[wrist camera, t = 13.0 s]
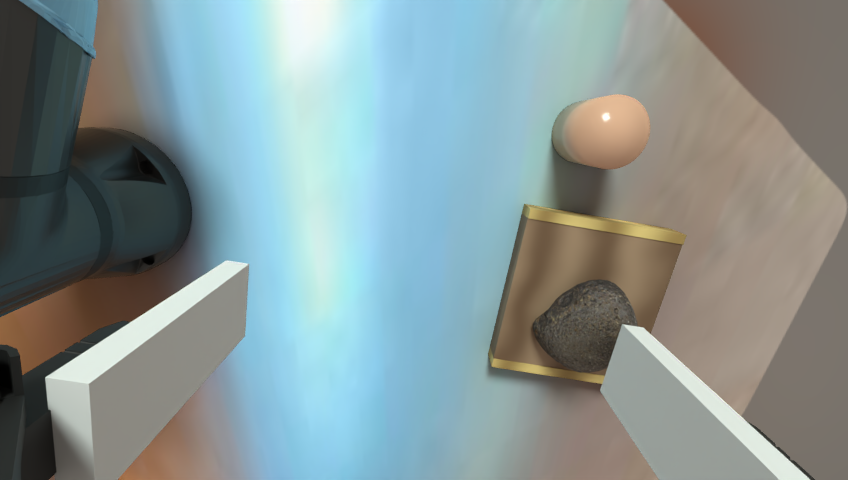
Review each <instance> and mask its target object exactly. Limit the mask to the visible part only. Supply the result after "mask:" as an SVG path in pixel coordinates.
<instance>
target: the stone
mask: <svg viewBox="0 0 848 480" xmlns="http://www.w3.org/2000/svg"><path fill="white" fill-rule="evenodd" d="M622 324H624V325H630V326H637V327H638V324H637V320H636V317H635V313H634V310H633V308H632V305H631V303H630V301H629V300H628V298H627V296H626V294H625V293H624V292H623V291H622V290H621V289H620V288H619V287H618V286H617V285H616V284H615V283H613V282H611V281H608V280H601V279H598V280H589V281H586V282H583V283H580V284H577V285H576V286H574V287H572V288H571V289H569V290H567V291H566V292H564V293H563V294H561V295H560V296H559V297H558V298H557V299H556V300H555V301H554V303H553V304H552V305H551V307H550V308H549V309H548V310H547V311H545V312H544V313H543V314H541V315H540V316H539V317H538V318H536V320H535V321H534V323H533V332H534V335H535V338H536V340H537V341H538V343H539V344H540V346H541V347H542V348H543V350H544V351H545V352H546V353H547V354H548V355H549V356H551V357H552V358H553V359H554V360H555V361H556V362H559V363H561V364H562V365H563V366H564V367H566V368H568V369H571V370H573V371H576V372H580V373H582V372H586V373H590V372H596V371H600V370H603V369H606V368H608V365H609V362H610V359H611V356H612V353H613V350H614V347H615V344H616V341H617V338H618V335H619V332H620V329H621V326H622Z"/></svg>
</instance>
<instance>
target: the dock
mask: <svg viewBox="0 0 848 480" xmlns="http://www.w3.org/2000/svg"><path fill="white" fill-rule="evenodd" d="M685 238H686V235H685V234H682V233H680V232H677V231H675V230H672V229H668V228H662V227H657V226H651V225H645V224H639V223H633V222H627V221H621V220H616V219H610V218H604V217H598V216H592V215H586V214H581V213H575V212H569V211H563V210H557V209H551V208H546V207H540V206H534V205H528V204H524V207H523V211H522V215H521V220H520V224H519V228H518V232H517V236H516V240H515V245H514V249H513V253H512V257H511V261H510V265H509V270H508V274H507V278H506V282H505V286H504V290H503V294H502V299H501V303H500V307H499V311H498V315H497V319H496V324H495V328H494V332H493V336H492V340H491V344H490V349H489V353H488V355H489V359H490V362H491V366H492V367H496V368H503V369H509V370H516V371H522V372H528V373H535V374H541V375H548V376H554V377H561V378H567V379H574V380H580V381H586V382H593V383H599V384H602V383H603V380H604V377H605V374H606V371H607V368H606V369H603V370H600V371H596V372H590V373H586V372H582V373H580V372H576V371H573V370H571V369H568V368H566V367H564V366H563V365H562V364H561V363H559V362H556V361H555V360H554V359H553V358H552V357H551V356H549V355H548V354H547V353H546V352H545V351H544V350H543V348H542V347H541V346H540V344H539V343H538V341H537V340H536V338H535V335H534V332H533V323H534V321H535V320H536V318H538V317H539V316H540V315H541V314H543V313H544V312H545V311H547V310H548V309H549V308H550V307H551V305H552V304H553V303H554V301H555V300H556V299H557V298H558V297H559V296H560V295H561V294H563V293H564V292H566V291H567V290H569V289H571V288H572V287H574V286H576V285H577V284H580V283H583V282H586V281H589V280H598V279H601V280H608V281H611V282H613V283H615V284H616V285H617V286H618V287H619V288H620V289H621V290H622V291H623V292H624V293H625V294H626V296H627V298H628V300H629V301H630V303H631V305H632V308H633V310H634V313H635V317H636V320H637V324H638V327H643V328H644V329H645V330H646V331H648V332H649V333H650V334H651V331H652V328H653V326H654V323H655V320H656V317H657V314H658V312H659V309H660V306H661V303H662V300H663V298H664V295H665V292H666V289H667V286H668V284H669V281H670V278H671V275H672V272H673V270H674V267H675V264H676V261H677V258H678V256H679V253H680V250H681V247H682V245H683V244H684V241H685Z"/></svg>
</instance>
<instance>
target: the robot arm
mask: <svg viewBox="0 0 848 480" xmlns="http://www.w3.org/2000/svg"><path fill="white" fill-rule="evenodd" d="M97 11H98V1H97V0H0V317H1V316H4V315H6V314H8V313H10V312H12V311H15V310H17V309H19V308H21V307H23V306H26V305H28V304H30V303H32V302H34V301H37V300H39V299H41V298H43V297H45V296H48V295H50V294H52V293H54V292H56V291H59V290H61V289H63V288H65V287H67V286H70V285H72V284H74V283H76V282H78V281H81V280H83V279H93V278H107V277H122V276H130V275H135V274H139V273H142V272H145V271H147V270H149V269H152V268H154V267H156V266H158V265H160V264H162V263H163V262H165V261H167V260H168V259H170V258H171V257H172V256H173V255H174V254H175V253H176V252H177V251H178V250H179V249H180V247H181V246H182V244H183V243H184V241H185V239H186V237H187V234H188V231H189V228H190V222H191V204H190V198H189V194H188V191H187V188H186V185H185V183H184V181H183V179H182V177H181V175H180V173H179V171H178V170H177V168H176V167H175V166H174V164H173V163H172V162H171V161H170V159H169V158H168V157H167V156H166V155H165V154H164V153H163V152H162V151H161V150H160V149H158V148H157V147H156V146H155V145H153V144H152V143H150V142H149V141H147V140H145V139H144V138H142V137H140V136H138V135H136V134H133V133H130V132H128V131H124V130H120V129H115V128H96V127H88V128H78V125H79V121H80V116H81V111H82V106H83V101H84V96H85V91H86V86H87V81H88V76H89V71H90V66H91V61H92V58H93V59H95V57H96V52H95V49H94V48H93V42H94V34H95V26H96V18H97ZM248 273H249V264H246V263H239V262H233V261H227V260H226V261H225V262H223V263H222V264H220V265H218V266H217V267H215V268H214V269H212V270H211V271H209V272H208V273H206V274H205V275H203V276H201V277H200V278H198V279H197V280H195V281H194V282H192V283H191V284H189V285H188V286H186V287H184V288H183V289H181V290H180V291H178V292H177V293H175V294H174V295H172V296H170V297H169V298H167V299H166V300H164V301H163V302H161V303H160V304H158V305H157V306H155V307H153V308H152V309H150V310H149V311H147V312H146V313H144V314H143V315H141V316H140V317H138V318H136V319H135V320H133V321H132V322H128V321H121V322H118V323H115V324H112V325H109V326H106V327H104V328H101V329H98V330H97V331H95V332H93V333H92V334H90V335H88V336H87V337H85V338H84V339H82V340H81V341H80V343H75V344H74V345H72V346H70V347H69V348H67V349H65V352H60V353H59V354H57V355H55V356H54V357H52V358H50V359H49V360H47V361H45V362H44V363H42V364H41V365H39V366H37V367H36V368H34V369H32V370H31V371H29V372H27V373H26V374H24V375H22V371H21V362H20V355H19V353H18V350H17V349H15V348H13V347H10V346H8V345H0V480H49V479H50V478H51V477H52V476H53V475H55V480H118V478H119V477H120V476H121V475H122V474H123V473H124V472H125V471H126V469H127V468H128V467H129V466H130V465H131V464H132V463H133V462H134V460H135V459H136V458H137V457H138V456H139V455H140V454H141V453H142V451H143V450H144V449H145V448H146V447H147V446H148V445H149V444H150V442H151V441H152V440H153V439H154V438H155V437H156V436H157V435H158V433H159V432H160V431H161V430H162V429H163V428H164V427H165V425H166V424H167V423H168V422H169V421H170V420H171V419H172V418H173V416H174V415H175V414H176V413H177V412H178V411H179V410H180V409H181V407H182V406H183V405H184V404H185V403H186V402H187V401H188V400H189V398H190V397H191V396H192V395H193V394H194V393H195V392H196V391H197V389H198V388H199V387H200V386H201V385H202V384H203V383H204V382H205V380H206V379H207V378H208V377H209V376H210V375H211V374H212V373H213V371H214V370H215V369H216V368H217V367H218V366H219V365H220V364H221V362H222V361H223V360H224V359H225V358H226V357H227V356H228V355H229V353H230V352H231V351H232V350H233V349H234V348H235V347H236V346H237V344H238V343H239V342H240V341H241V340H242V339H243V338H244V336H245V327H246V309H247V291H248ZM600 391H601V393H602V394H603V396H604V397H605V399H606V401H607V402H608V404H609V405H610V407H611V408H612V410H613V411H614V413H615V414H616V416H617V417H618V419H619V420H620V422H621V423H622V425H623V426H624V428H625V429H626V431H627V432H628V434H629V435H630V437H631V438H632V440H633V441H634V443H635V444H636V446H637V447H638V449H639V450H640V452H641V453H642V455H643V456H644V458H645V459H646V461H647V462H648V464H649V465H650V467H651V468H652V470H653V471H654V473H655V474H656V476H657V477H658V479H659V480H815V479H814V478H813V477H811V476H810V475H809V474H808V473H807V472H806V471H805V470H804V469H803V468H802V467H800V466H799V465H798V464H797V463H796V462H795V461H792V460H790V457H789V456H788V455H787V454H786V453H785V452H784V451H783V450H781V449H780V448H779V447H776V446H775V443H774V442H773V441H772V440H770V439H769V438H768V437H767V436H766V435H765V434H764V433H763V432H761V431H760V430H759V429H758V428H757V427H755V426H754V425H752V424H750V423H749V422H748V421H746V420H745V419H743V418H742V417H741V416H740V415H739V414H738V413H737V412H735V411H734V410H733V409H732V408H731V407H730V406H729V405H728V404H727V403H726V402H724V401H723V400H722V399H721V398H720V397H719V396H718V395H717V394H716V393H715V392H713V391H712V390H711V389H710V388H709V387H708V386H707V385H706V384H705V383H704V382H702V381H701V380H700V379H699V378H698V377H697V376H696V375H695V374H694V373H693V372H691V371H690V370H689V369H688V368H687V367H686V366H685V365H684V364H683V363H682V362H680V361H679V360H678V359H677V358H676V357H675V356H674V355H673V354H672V353H671V352H669V351H668V350H667V349H666V348H665V347H664V346H663V345H662V344H661V343H660V342H658V341H657V340H656V339H655V338H654V337H653V336H652V335H651V334H650V333H649V332H648V331H646V330H645V329H644V328H643V327H637V326H630V325H624V324H622V326H621V329H620V332H619V335H618V338H617V341H616V344H615V347H614V350H613V353H612V356H611V359H610V362H609V365H608V368H607V371H606V374H605V377H604V380H603V383H602V386H601V389H600Z"/></svg>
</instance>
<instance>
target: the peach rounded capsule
mask: <svg viewBox="0 0 848 480" xmlns="http://www.w3.org/2000/svg"><path fill="white" fill-rule="evenodd" d="M649 135H650V120H649V116H648V114H647V112H646V110H645V108H644V107H643V106H642V104H641V103H640V102H638V101H637V100H636V99H634V98H632V97H629V96H626V95H610V96H605V97H600V98H595V99H589V100H584V101H579V102H576V103H573V104H571V105H569V106H567V107H566V108H565V109H563V110H562V111H561V113H560V114H559V115H558V117H557V118H556V120H555V122H554V125H553V128H552V142H553V145H554V148H555V150H556V151H557V153H558V154H559V155H560V156H561V157H562V158H564V159H565V160H567V161H570V162H574V163H578V164H583V165H588V166H592V167H597V168H602V169H617V168H620V167H623V166H626V165H627V164H629V163H631V162H632V161H634V160H635V159H636V158H637V157H638V156H639V155H640V154H641V152H642V151H643V149H644V148H645V146H646V144H647V141H648V139H649Z"/></svg>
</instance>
